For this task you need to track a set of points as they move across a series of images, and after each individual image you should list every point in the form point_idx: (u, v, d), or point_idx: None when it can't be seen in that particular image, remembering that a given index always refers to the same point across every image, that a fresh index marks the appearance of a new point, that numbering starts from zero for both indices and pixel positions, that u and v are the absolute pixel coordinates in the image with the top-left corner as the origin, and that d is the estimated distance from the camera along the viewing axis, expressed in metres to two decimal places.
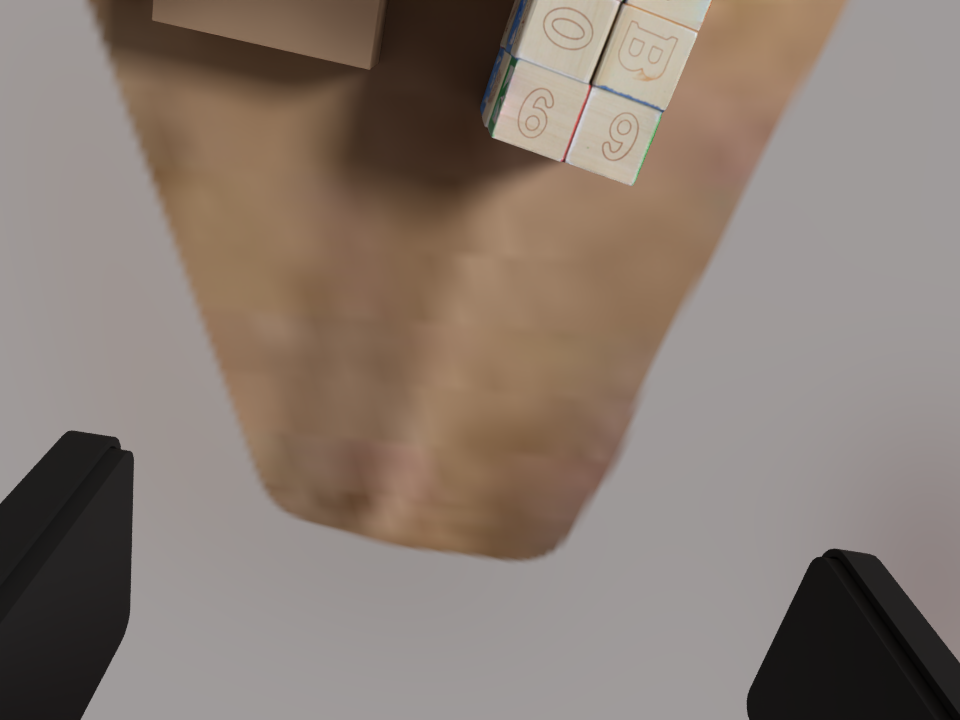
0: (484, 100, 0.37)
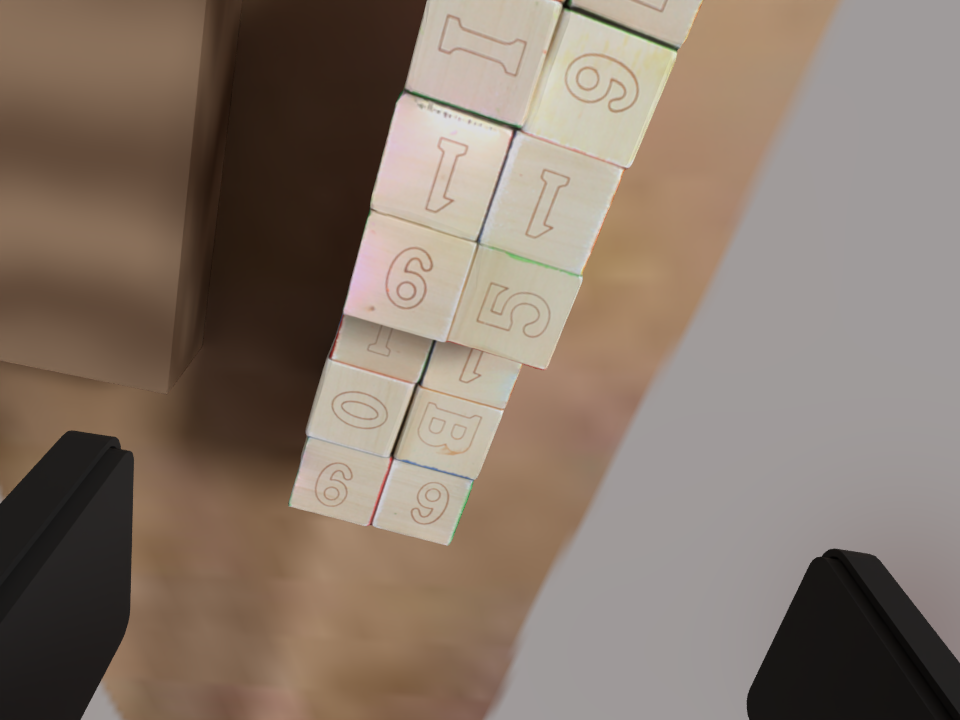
0: None
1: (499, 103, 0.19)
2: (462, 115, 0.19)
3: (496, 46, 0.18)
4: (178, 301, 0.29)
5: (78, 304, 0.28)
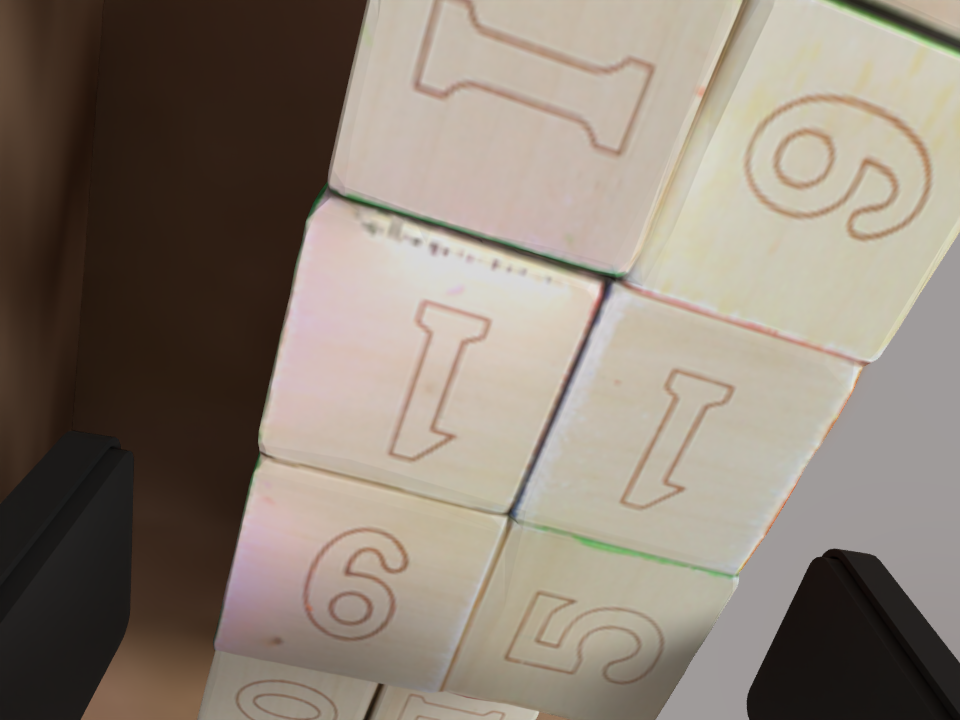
0: None
1: (572, 224, 0.07)
2: (477, 251, 0.07)
3: (573, 78, 0.07)
4: None
5: None
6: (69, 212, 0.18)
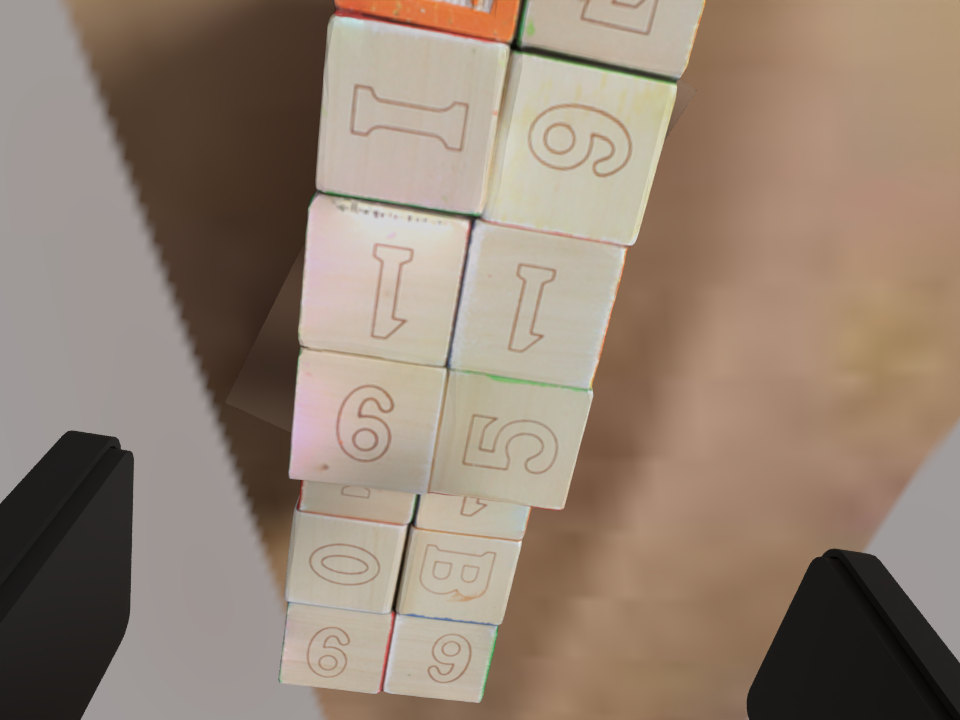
0: None
1: (444, 189, 0.14)
2: (399, 211, 0.14)
3: (428, 115, 0.13)
4: None
5: None
6: None
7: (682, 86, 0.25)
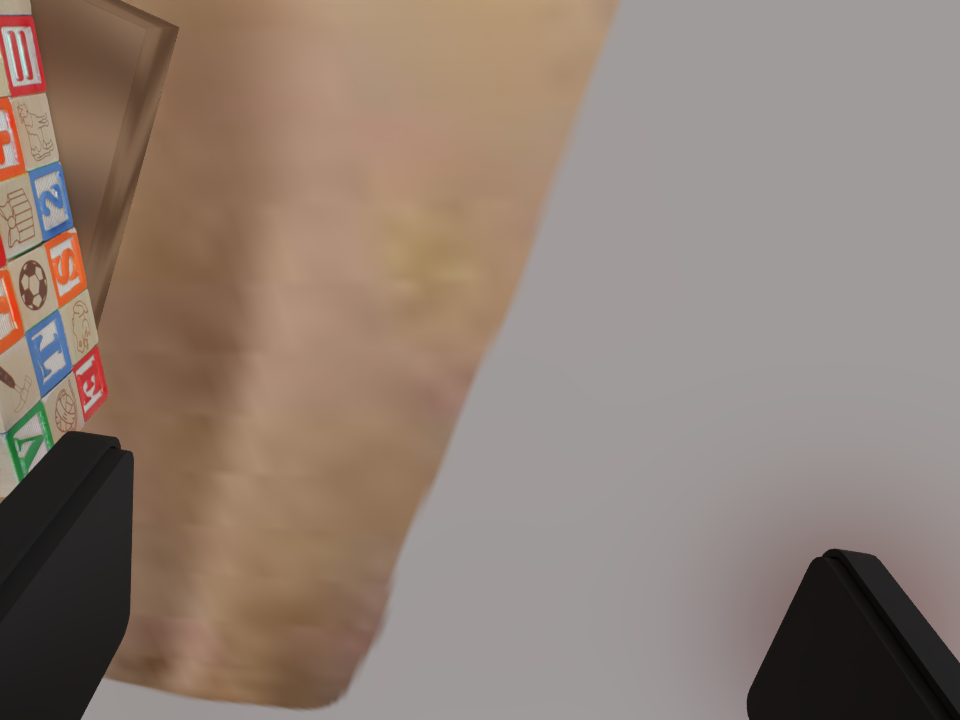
0: None
1: None
2: None
3: None
4: None
5: None
6: (127, 198, 0.39)
7: (133, 27, 0.33)
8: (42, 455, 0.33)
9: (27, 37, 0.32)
